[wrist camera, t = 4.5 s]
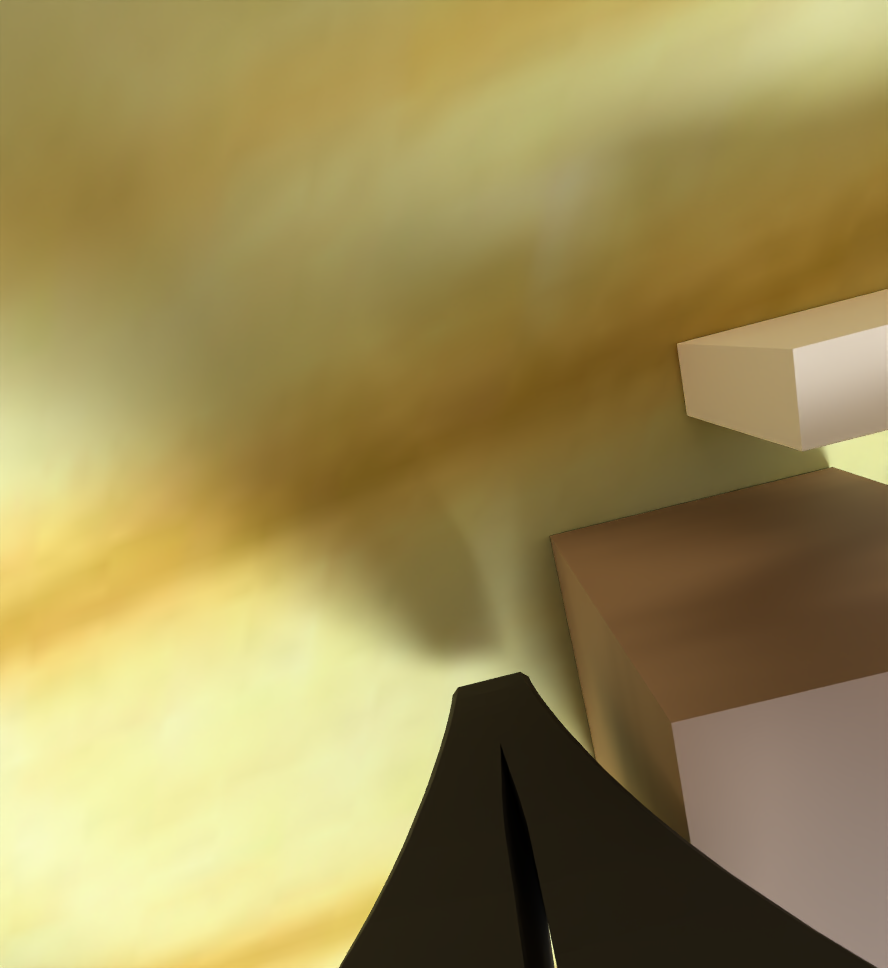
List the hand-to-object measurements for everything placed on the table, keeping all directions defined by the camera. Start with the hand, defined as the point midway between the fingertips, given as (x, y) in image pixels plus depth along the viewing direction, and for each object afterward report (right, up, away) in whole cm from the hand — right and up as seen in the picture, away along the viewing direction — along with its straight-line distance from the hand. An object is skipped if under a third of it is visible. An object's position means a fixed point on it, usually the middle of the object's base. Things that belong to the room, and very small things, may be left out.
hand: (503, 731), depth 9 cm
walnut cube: (+4, +1, +1) cm, 4 cm away
